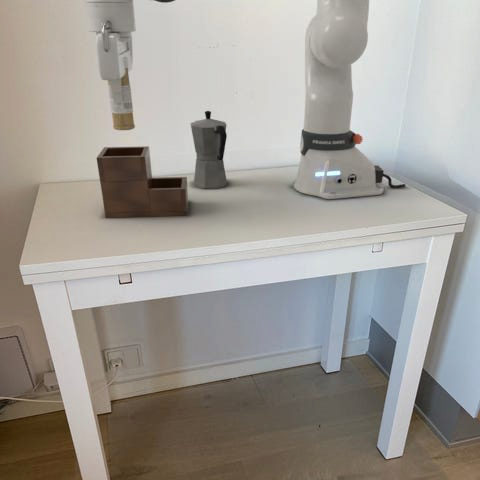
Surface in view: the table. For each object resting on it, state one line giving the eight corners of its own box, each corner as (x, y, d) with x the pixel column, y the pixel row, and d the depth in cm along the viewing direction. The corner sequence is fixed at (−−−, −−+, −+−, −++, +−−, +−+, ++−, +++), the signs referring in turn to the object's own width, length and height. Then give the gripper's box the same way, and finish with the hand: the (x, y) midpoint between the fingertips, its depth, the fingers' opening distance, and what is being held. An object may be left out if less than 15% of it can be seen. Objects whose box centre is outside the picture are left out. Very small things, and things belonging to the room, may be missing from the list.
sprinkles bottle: (128, 125, 107) (120, 55, 100) (139, 129, 104) (131, 56, 97) (109, 128, 105) (99, 56, 97) (119, 132, 102) (110, 58, 94)
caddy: (188, 201, 118) (184, 145, 112) (187, 215, 110) (183, 155, 104) (112, 203, 118) (104, 147, 111) (105, 217, 109) (96, 157, 103)
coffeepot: (184, 180, 134) (179, 108, 124) (215, 175, 138) (212, 105, 128) (209, 195, 122) (206, 118, 113) (242, 189, 126) (242, 114, 117)
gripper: (120, 22, 85) (130, 108, 93) (134, 20, 103) (141, 93, 110) (83, 22, 85) (96, 108, 92) (103, 20, 102) (112, 93, 110)
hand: (120, 100), depth 101 cm, fingers closed on sprinkles bottle, 4 cm apart
